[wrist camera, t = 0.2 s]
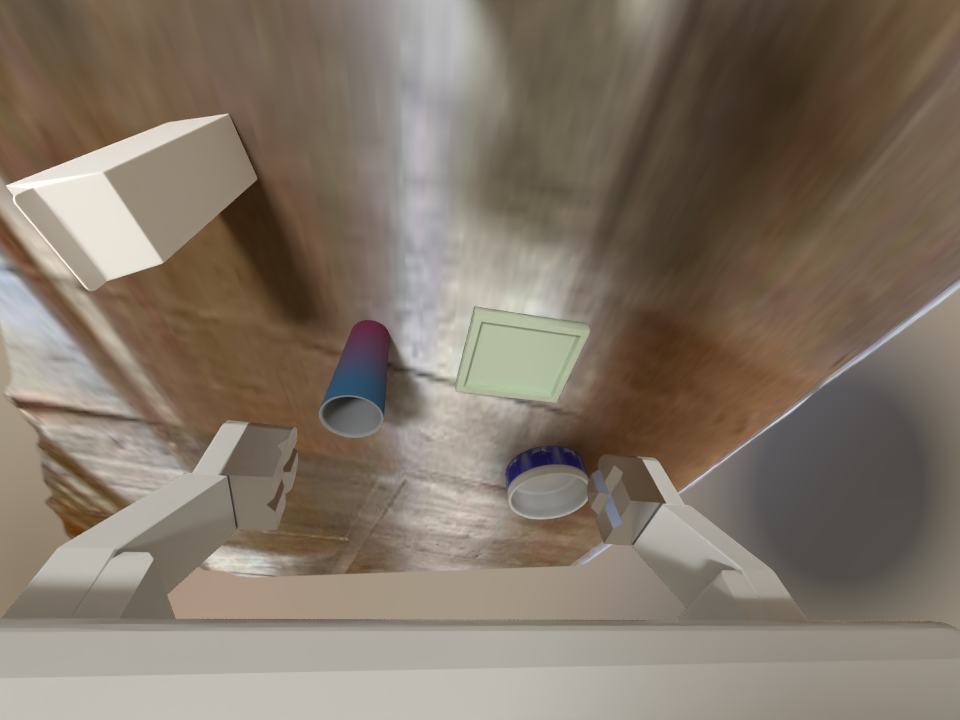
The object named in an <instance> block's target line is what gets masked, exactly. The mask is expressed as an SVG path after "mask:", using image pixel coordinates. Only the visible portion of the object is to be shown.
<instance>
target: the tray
mask: <svg viewBox="0 0 960 720" xmlns="http://www.w3.org/2000/svg"><path fill="white" fill-rule="evenodd" d="M589 333H590V329H589V327H588V325H587V324H586V323H579V322H573V321H566V320H559V319H553V318H546V317H540V316H533V315H527V314H520V313H514V312H507V311H501V310H494V309H487V308H481V307H474V311H473V315H472V319H471V323H470V327H469V331H468V335H467V339H466V343H465V347H464V351H463V355H462V359H461V363H460V367H459V371H458V375H457V379H456V383H455V389H456V392H463V393H472V394H481V395H490V396H499V397H508V398H517V399H526V400H535V401H544V402H553V403H556V402H557V400H558V398H559V396H560V394H561V392H562V390H563V388H564V386H565V383H566V381H567V379H568V377H569V375H570V373H571V371H572V369H573V367H574V365H575V363H576V360H577V358H578V356H579V354H580V352H581V350H582V348H583V346H584V344H585V342H586V340H587V338H588V335H589Z"/></svg>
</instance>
